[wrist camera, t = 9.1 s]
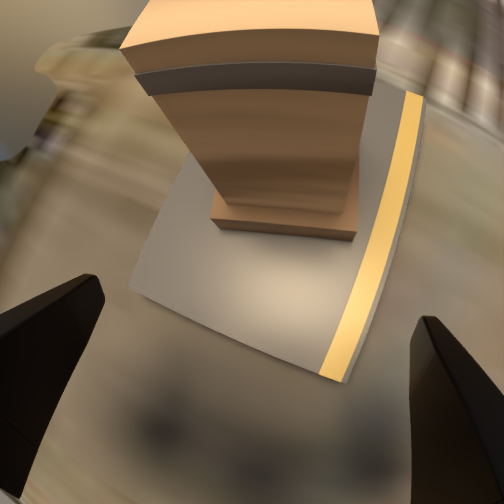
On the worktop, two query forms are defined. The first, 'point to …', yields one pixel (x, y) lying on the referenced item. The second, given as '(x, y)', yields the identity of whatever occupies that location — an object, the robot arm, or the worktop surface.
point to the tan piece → (265, 104)
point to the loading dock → (289, 255)
